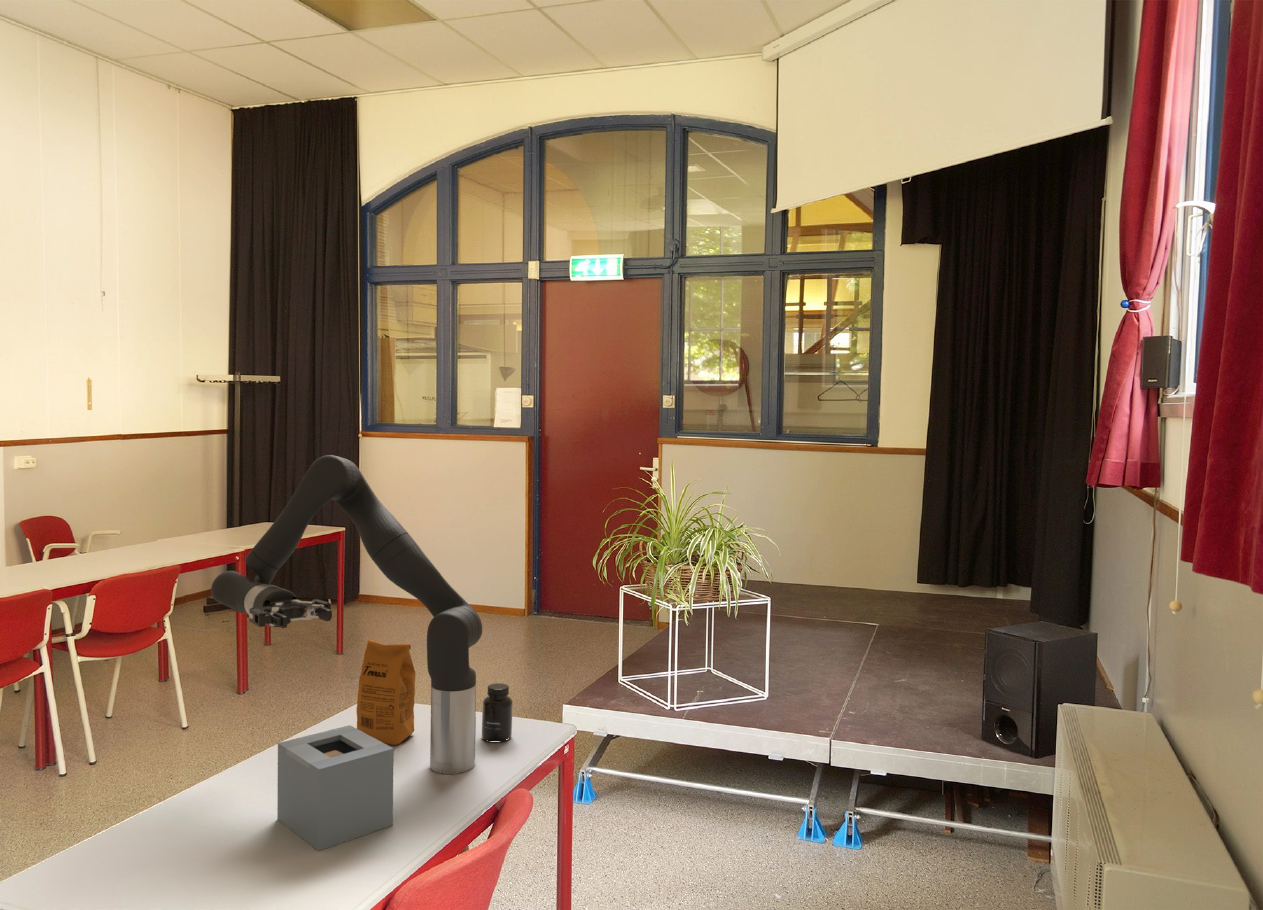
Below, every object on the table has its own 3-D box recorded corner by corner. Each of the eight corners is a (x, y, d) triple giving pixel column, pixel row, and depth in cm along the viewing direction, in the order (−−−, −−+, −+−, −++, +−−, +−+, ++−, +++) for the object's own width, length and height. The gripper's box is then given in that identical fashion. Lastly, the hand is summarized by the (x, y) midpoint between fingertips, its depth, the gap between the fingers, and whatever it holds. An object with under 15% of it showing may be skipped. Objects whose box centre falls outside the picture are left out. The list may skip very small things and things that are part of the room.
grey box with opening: (277, 819, 161) (277, 743, 161) (349, 796, 171) (349, 725, 171) (318, 850, 150) (319, 769, 150) (392, 825, 160) (393, 748, 160)
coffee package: (375, 726, 210) (376, 633, 209) (420, 733, 206) (421, 639, 205) (348, 740, 200) (349, 643, 200) (395, 748, 196) (396, 649, 195)
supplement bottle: (487, 745, 200) (488, 692, 199) (477, 735, 206) (478, 683, 205) (516, 740, 203) (517, 688, 202) (506, 730, 209) (506, 680, 208)
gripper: (234, 590, 173) (270, 604, 162) (305, 582, 183) (343, 594, 172) (234, 629, 174) (270, 645, 162) (305, 618, 184) (343, 632, 172)
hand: (307, 619), depth 167 cm, fingers open, 8 cm apart
